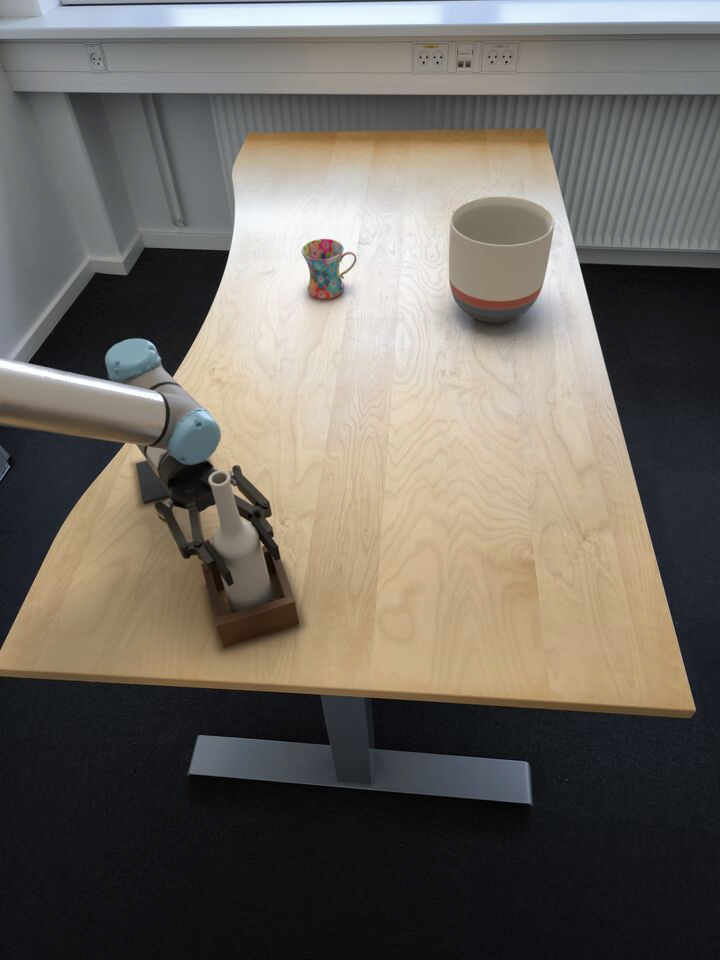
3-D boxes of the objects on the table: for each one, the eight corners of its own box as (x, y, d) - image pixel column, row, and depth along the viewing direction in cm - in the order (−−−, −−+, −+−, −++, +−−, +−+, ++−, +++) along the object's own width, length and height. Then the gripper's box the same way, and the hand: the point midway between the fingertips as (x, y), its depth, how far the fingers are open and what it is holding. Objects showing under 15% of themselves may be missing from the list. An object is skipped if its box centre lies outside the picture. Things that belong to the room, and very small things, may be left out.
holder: (223, 648, 105) (215, 625, 101) (208, 587, 113) (200, 563, 109) (299, 624, 108) (295, 601, 103) (280, 565, 115) (275, 542, 111)
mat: (143, 503, 126) (143, 501, 125) (136, 465, 132) (135, 463, 132) (212, 485, 128) (211, 483, 128) (202, 448, 135) (201, 446, 134)
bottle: (276, 586, 112) (248, 458, 92) (272, 623, 108) (242, 497, 88) (234, 587, 113) (196, 459, 92) (228, 624, 108) (187, 498, 88)
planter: (536, 287, 166) (549, 195, 151) (543, 340, 152) (559, 245, 137) (446, 286, 168) (450, 196, 152) (445, 339, 154) (450, 245, 139)
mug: (306, 304, 166) (302, 261, 158) (305, 282, 172) (300, 240, 164) (359, 299, 166) (357, 257, 158) (356, 277, 172) (354, 235, 165)
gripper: (242, 456, 116) (318, 549, 102) (127, 510, 109) (192, 618, 95) (234, 420, 110) (313, 514, 97) (112, 475, 104) (179, 585, 90)
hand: (253, 566), depth 96 cm, fingers closed on bottle, 6 cm apart
